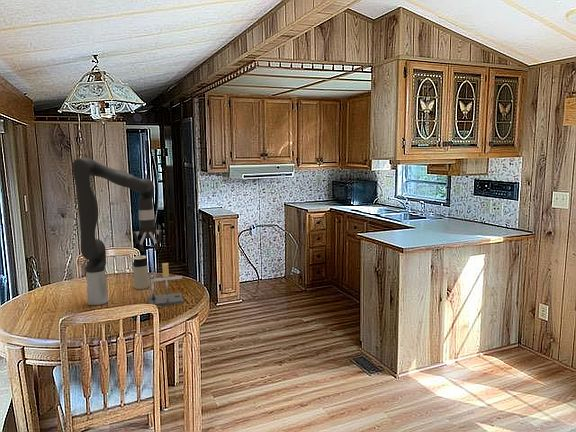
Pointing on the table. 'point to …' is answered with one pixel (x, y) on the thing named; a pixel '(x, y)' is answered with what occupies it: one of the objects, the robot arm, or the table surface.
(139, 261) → the travel mug
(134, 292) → the table surface
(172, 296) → the bolt plate
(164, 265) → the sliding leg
